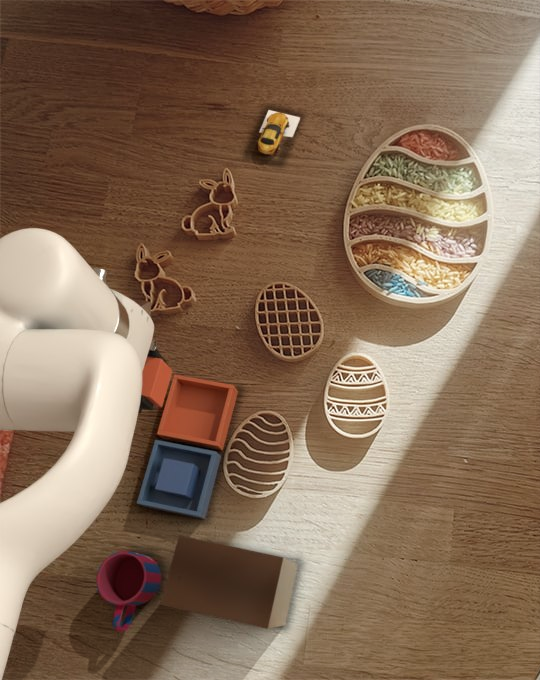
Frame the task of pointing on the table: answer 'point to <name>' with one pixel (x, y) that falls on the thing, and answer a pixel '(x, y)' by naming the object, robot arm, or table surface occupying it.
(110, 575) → the mug
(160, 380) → the terracotta block
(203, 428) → the terracotta bin
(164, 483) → the blue cube
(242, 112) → the table surface
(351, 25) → the table surface
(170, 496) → the slate bin
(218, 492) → the table surface
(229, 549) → the stand
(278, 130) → the toy car
